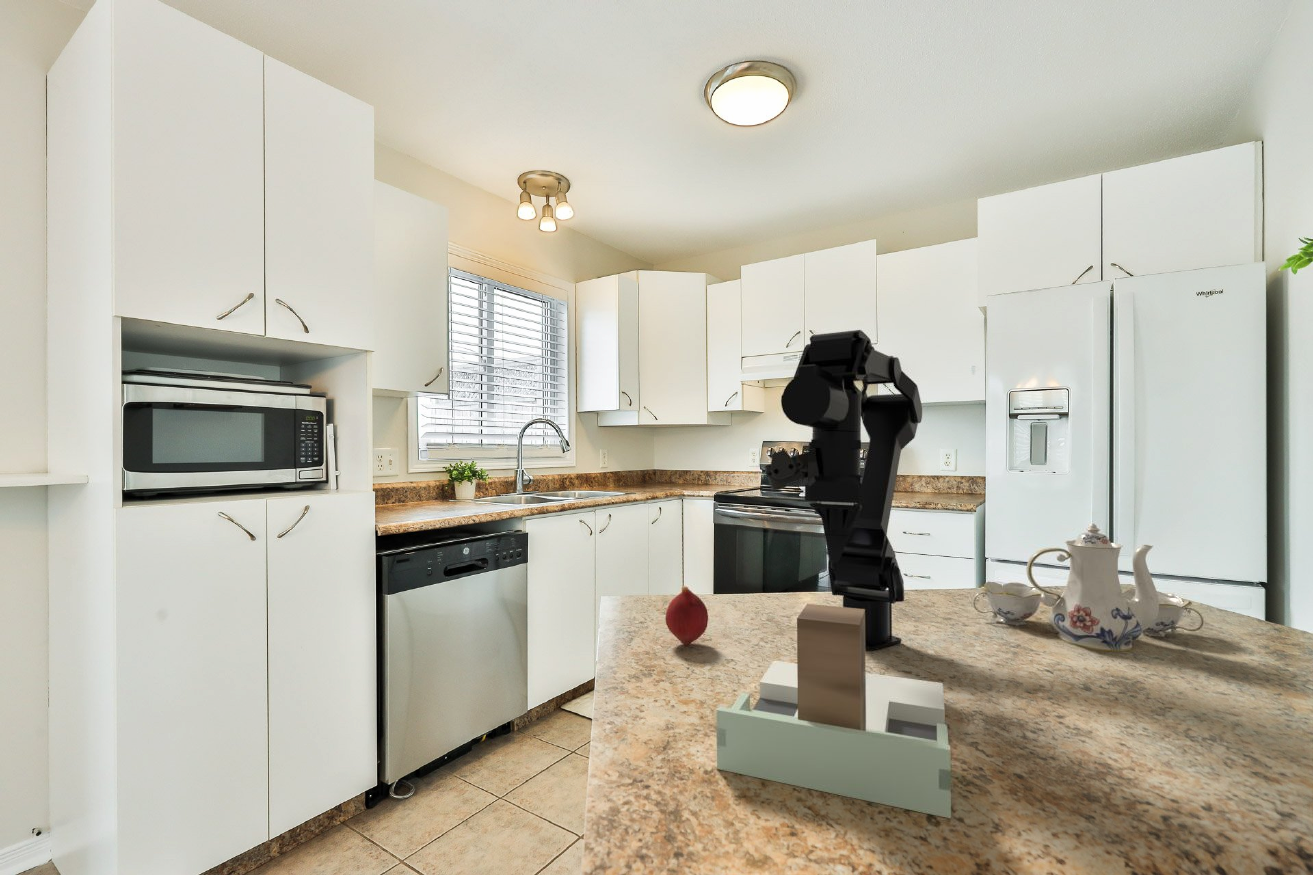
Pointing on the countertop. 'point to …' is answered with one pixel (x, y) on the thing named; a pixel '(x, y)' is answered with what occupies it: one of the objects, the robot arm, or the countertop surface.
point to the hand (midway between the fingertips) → (834, 561)
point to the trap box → (845, 742)
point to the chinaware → (1093, 598)
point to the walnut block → (831, 666)
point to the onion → (686, 616)
